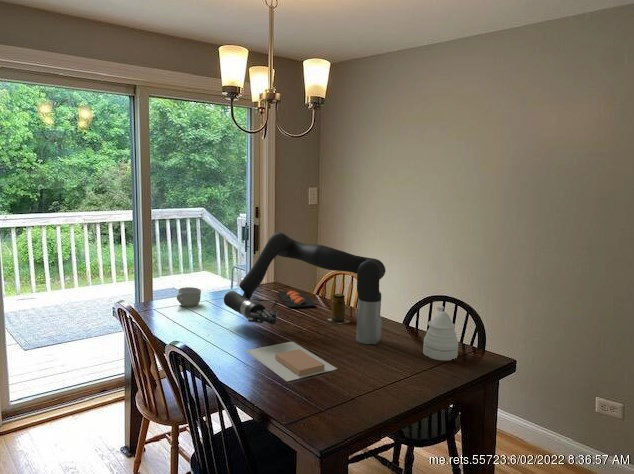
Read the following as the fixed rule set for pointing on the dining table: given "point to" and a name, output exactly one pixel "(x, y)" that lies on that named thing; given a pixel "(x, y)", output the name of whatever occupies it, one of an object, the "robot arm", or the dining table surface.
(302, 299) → the sushi plate
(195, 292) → the teacup
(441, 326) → the honey pot
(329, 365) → the mat
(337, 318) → the condiment
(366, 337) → the robot arm
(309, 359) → the tile
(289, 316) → the dining table surface
